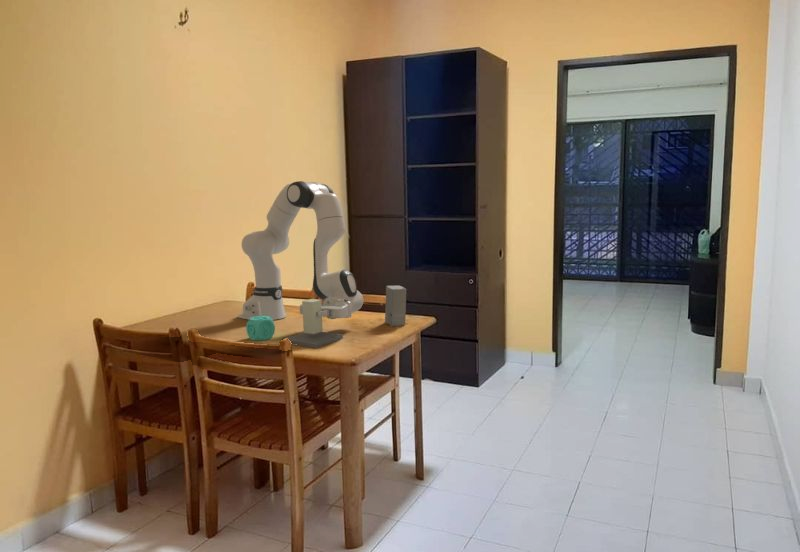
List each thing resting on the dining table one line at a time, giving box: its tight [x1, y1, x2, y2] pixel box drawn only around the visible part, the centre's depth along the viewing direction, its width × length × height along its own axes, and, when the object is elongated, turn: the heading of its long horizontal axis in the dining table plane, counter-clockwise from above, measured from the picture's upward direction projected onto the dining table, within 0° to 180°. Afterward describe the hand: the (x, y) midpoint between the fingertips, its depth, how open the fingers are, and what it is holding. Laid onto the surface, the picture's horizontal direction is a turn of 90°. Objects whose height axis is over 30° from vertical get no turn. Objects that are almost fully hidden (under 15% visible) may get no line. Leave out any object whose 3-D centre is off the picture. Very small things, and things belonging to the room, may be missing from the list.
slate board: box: [287, 331, 344, 349], centre depth 231 cm, size 16×16×2 cm
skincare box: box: [384, 285, 407, 327], centre depth 255 cm, size 8×7×16 cm
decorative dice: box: [245, 316, 276, 342], centre depth 236 cm, size 8×8×8 cm
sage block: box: [301, 298, 324, 334], centre depth 229 cm, size 5×5×12 cm
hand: (310, 314), depth 228 cm, fingers closed on sage block, 5 cm apart
